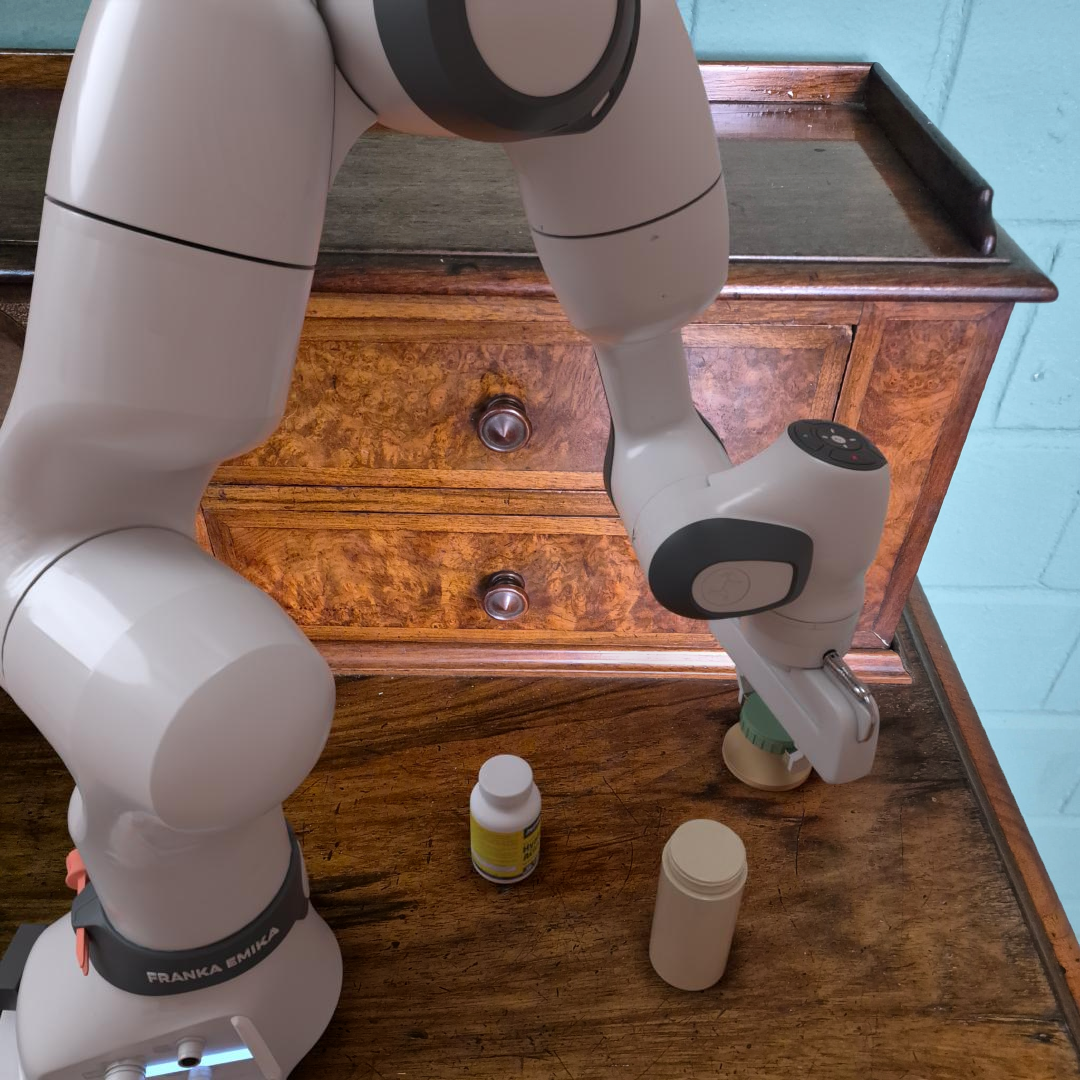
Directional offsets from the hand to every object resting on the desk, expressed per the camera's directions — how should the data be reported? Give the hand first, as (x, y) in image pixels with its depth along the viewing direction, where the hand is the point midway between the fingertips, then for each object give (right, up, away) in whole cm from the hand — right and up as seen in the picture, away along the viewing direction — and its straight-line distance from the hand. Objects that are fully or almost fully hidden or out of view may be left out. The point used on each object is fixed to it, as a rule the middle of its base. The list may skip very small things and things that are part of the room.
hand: (771, 735), depth 83 cm
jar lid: (0, +2, -1) cm, 2 cm away
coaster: (0, -2, +1) cm, 3 cm away
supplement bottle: (-23, -8, -7) cm, 25 cm away
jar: (-9, -13, -14) cm, 21 cm away
